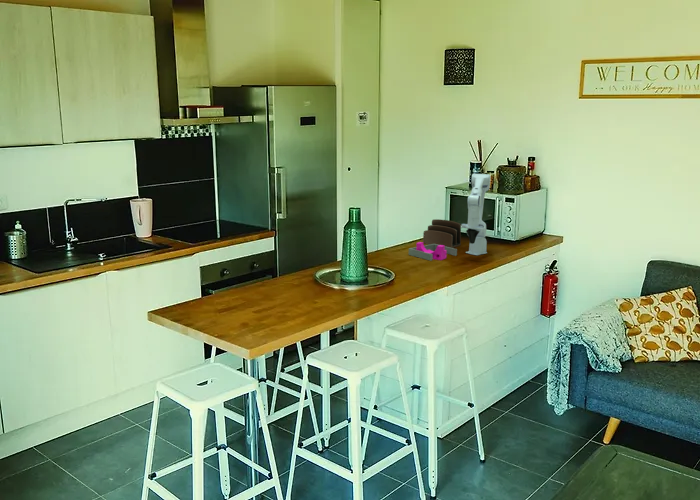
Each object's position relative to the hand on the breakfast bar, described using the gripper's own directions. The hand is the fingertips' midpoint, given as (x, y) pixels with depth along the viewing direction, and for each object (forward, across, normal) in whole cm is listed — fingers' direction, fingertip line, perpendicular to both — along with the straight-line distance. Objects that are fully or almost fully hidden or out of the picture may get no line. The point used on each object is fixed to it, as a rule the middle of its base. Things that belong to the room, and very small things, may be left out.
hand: (472, 243), depth 359 cm
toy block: (+10, -18, -12) cm, 24 cm away
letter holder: (+10, -36, +15) cm, 40 cm away
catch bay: (+9, -20, -8) cm, 24 cm away
